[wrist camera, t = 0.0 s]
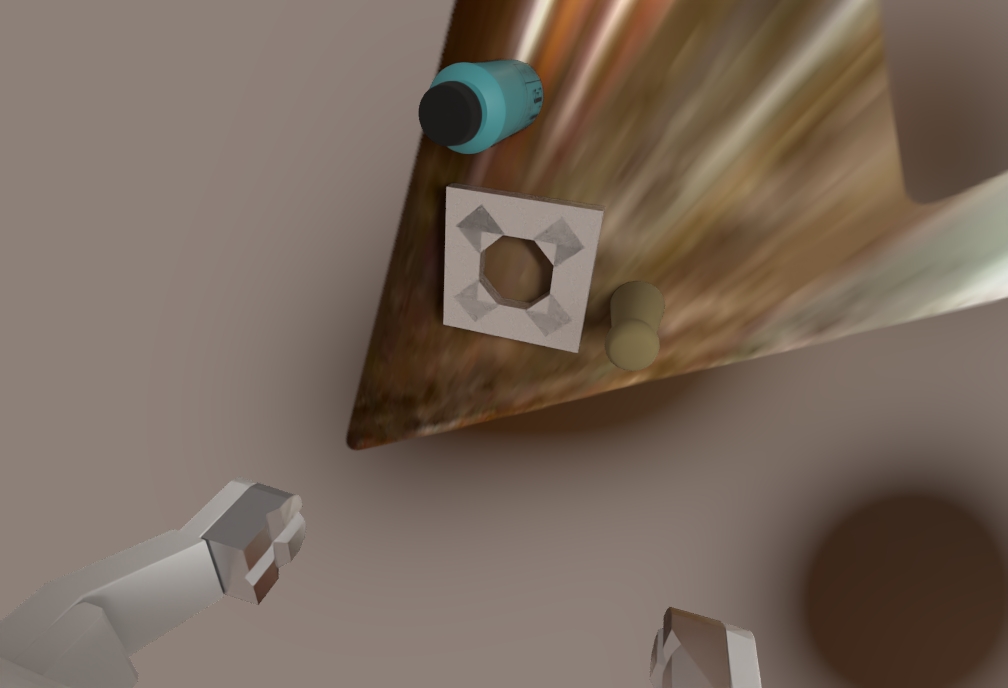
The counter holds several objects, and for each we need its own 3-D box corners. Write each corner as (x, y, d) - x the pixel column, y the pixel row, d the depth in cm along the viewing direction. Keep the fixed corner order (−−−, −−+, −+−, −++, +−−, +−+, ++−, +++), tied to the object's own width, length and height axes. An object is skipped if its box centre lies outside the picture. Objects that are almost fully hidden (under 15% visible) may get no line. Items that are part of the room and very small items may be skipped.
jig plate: (453, 182, 57) (446, 186, 55) (605, 206, 54) (603, 211, 52) (449, 317, 66) (443, 324, 64) (580, 344, 63) (577, 353, 61)
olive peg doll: (620, 335, 60) (611, 386, 51) (602, 290, 58) (589, 335, 49) (672, 321, 58) (672, 372, 49) (655, 273, 56) (652, 317, 47)
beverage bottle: (482, 60, 50) (387, 65, 34) (549, 54, 48) (484, 56, 32) (488, 131, 53) (404, 168, 37) (551, 128, 52) (493, 166, 35)
